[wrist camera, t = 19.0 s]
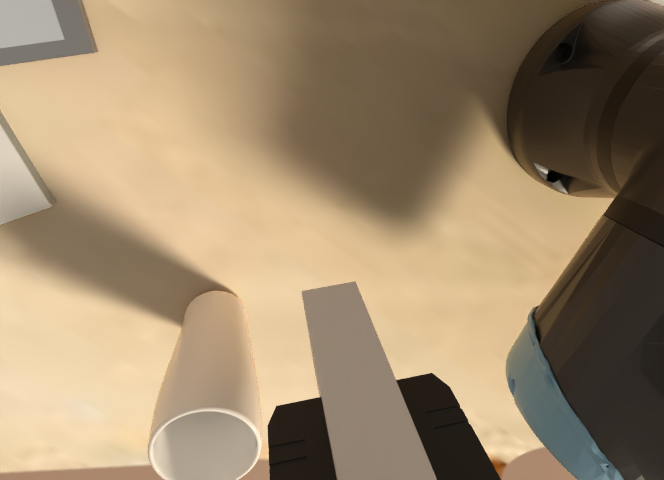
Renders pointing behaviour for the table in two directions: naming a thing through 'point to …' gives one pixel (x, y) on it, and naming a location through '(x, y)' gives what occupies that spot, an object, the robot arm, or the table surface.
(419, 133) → the table surface
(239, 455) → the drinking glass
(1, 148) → the external hard drive
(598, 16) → the robot arm
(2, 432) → the table surface
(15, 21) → the picture board
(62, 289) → the table surface
